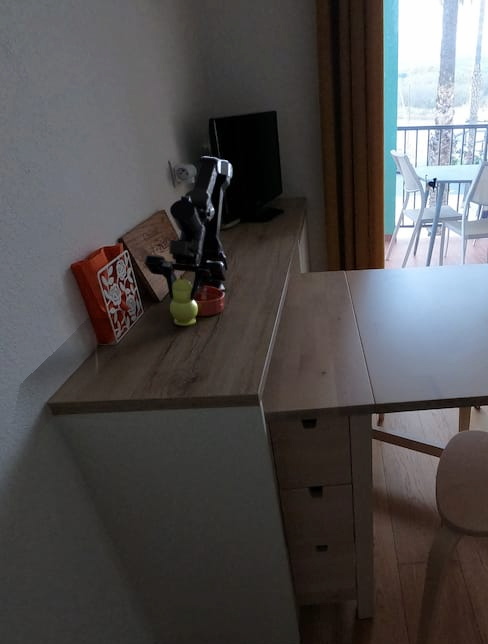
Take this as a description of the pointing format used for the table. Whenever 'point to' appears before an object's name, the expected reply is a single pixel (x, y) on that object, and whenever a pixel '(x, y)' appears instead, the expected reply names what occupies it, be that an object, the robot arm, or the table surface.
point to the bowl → (210, 301)
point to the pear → (183, 303)
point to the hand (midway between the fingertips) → (181, 299)
